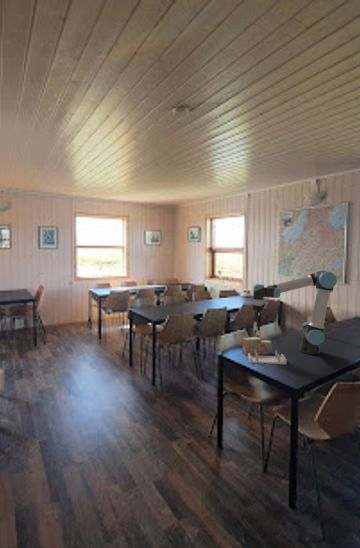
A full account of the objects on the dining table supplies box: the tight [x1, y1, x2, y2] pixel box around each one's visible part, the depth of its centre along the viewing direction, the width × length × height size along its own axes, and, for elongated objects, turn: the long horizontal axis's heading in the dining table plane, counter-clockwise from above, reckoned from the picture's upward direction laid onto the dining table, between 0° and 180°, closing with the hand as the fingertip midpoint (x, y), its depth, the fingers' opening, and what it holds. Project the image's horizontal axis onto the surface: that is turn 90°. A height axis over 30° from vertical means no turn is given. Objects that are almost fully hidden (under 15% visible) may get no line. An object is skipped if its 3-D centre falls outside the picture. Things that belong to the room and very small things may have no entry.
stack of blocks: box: [242, 336, 273, 357], centre depth 246 cm, size 21×6×12 cm, turn 102°
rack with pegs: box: [247, 349, 288, 365], centre depth 231 cm, size 25×13×6 cm, turn 84°
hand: (256, 332), depth 246 cm, fingers open, 13 cm apart
